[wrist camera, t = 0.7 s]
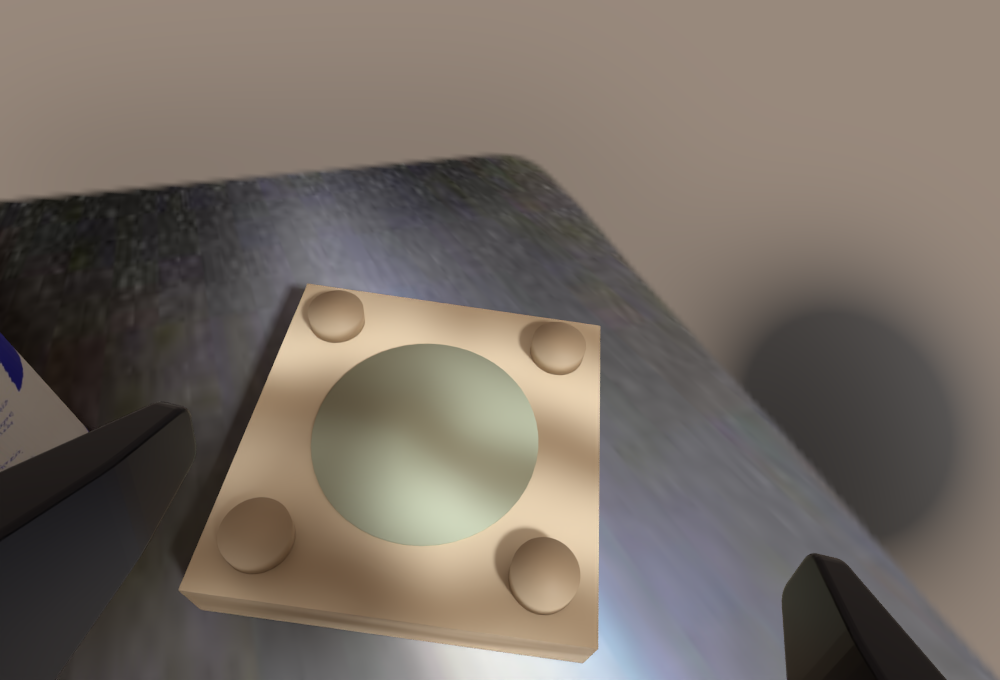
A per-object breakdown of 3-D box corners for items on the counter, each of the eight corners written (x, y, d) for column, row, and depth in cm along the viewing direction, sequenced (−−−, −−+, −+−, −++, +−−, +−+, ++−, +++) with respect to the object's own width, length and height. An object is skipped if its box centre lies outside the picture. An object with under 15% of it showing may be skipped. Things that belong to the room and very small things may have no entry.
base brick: (582, 663, 22) (603, 644, 19) (200, 609, 22) (170, 583, 19) (589, 356, 31) (603, 315, 28) (315, 317, 30) (304, 271, 28)
